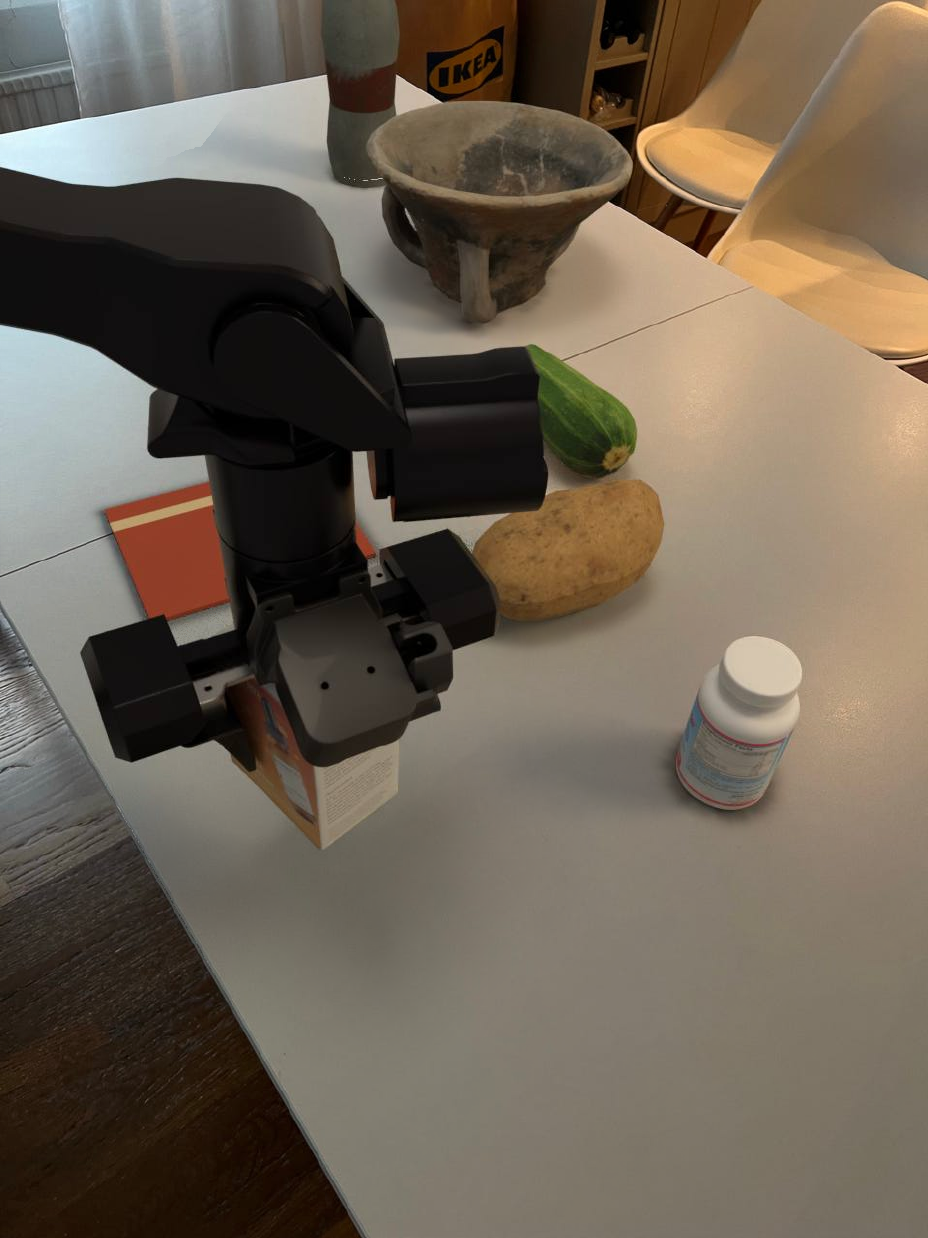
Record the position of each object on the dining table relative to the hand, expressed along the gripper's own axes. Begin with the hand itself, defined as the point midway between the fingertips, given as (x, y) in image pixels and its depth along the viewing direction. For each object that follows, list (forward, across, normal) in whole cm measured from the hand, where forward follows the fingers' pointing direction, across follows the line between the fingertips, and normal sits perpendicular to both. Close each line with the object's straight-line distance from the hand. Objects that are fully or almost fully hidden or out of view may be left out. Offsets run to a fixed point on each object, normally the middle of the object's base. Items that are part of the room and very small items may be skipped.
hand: (310, 742), depth 53 cm
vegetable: (+12, +36, +32) cm, 50 cm away
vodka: (+12, +42, +90) cm, 100 cm away
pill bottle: (+12, +26, -6) cm, 29 cm away
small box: (+4, 0, 0) cm, 4 cm away
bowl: (+12, +44, +59) cm, 75 cm away
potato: (+12, +25, +13) cm, 30 cm away
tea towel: (+12, +5, +30) cm, 33 cm away
